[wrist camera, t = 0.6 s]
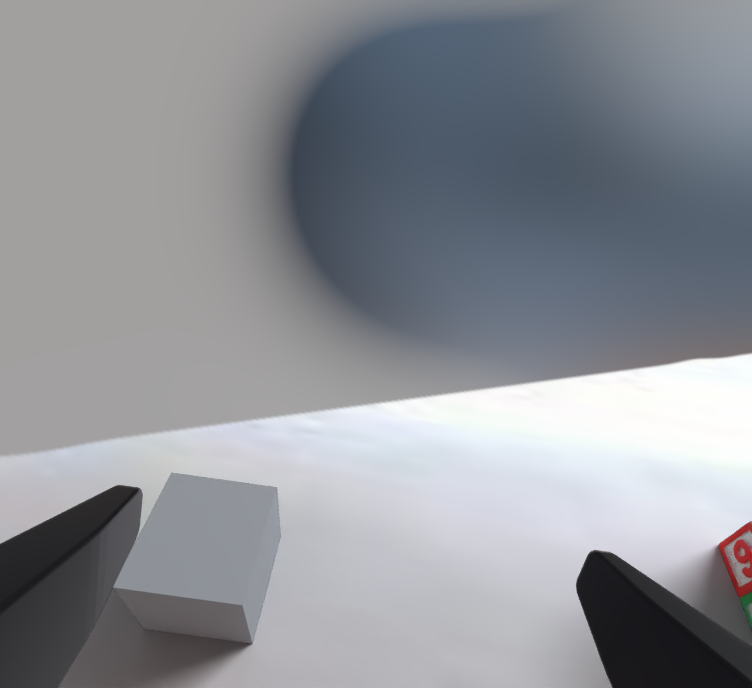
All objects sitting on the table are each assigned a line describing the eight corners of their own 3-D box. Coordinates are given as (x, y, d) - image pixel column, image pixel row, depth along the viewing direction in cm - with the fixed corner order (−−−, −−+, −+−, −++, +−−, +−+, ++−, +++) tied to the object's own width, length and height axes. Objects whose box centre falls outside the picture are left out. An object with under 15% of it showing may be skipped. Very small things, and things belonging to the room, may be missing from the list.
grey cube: (252, 644, 20) (242, 604, 16) (144, 629, 20) (112, 587, 16) (280, 536, 23) (277, 487, 20) (190, 523, 23) (171, 472, 20)
